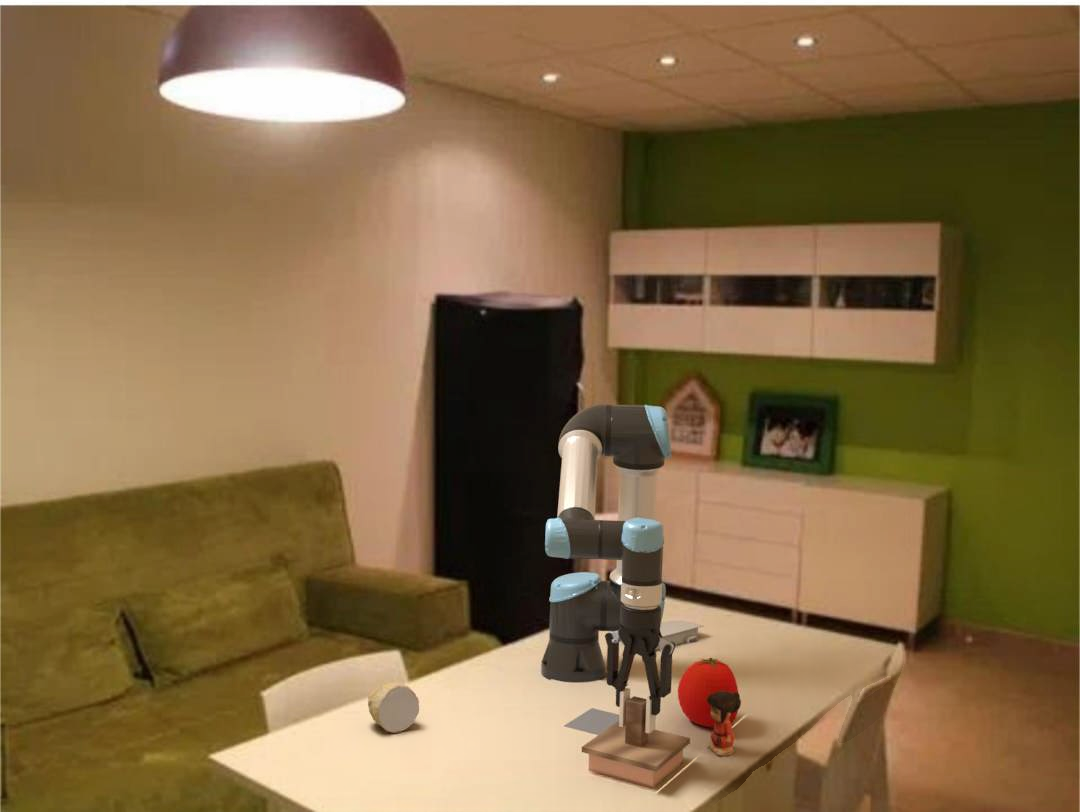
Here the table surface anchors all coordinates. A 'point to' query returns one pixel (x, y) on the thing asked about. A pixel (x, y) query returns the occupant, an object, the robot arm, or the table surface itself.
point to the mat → (594, 721)
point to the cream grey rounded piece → (393, 706)
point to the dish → (633, 770)
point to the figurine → (723, 721)
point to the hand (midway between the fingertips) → (637, 727)
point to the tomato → (704, 689)
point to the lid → (636, 741)
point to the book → (678, 631)
